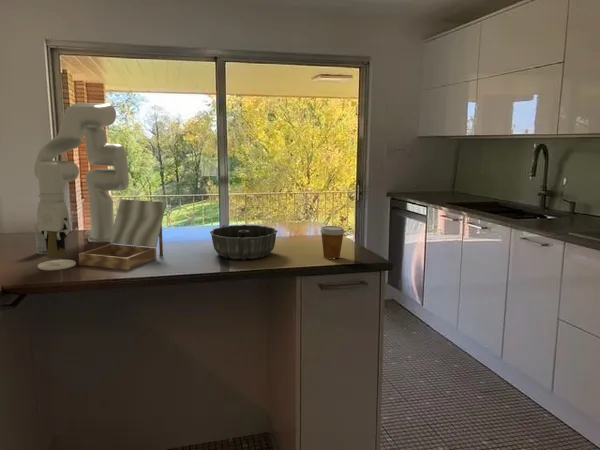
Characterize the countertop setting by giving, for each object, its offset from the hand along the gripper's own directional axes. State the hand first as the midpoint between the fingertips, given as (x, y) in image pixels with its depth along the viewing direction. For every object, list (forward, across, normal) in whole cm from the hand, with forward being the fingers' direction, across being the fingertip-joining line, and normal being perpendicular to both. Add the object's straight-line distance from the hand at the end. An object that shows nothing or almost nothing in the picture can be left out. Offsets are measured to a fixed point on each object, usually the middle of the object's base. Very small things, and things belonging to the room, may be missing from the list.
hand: (55, 249), depth 170 cm
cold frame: (+6, +16, +17) cm, 24 cm away
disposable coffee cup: (+6, +89, +47) cm, 101 cm away
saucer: (+6, 0, 0) cm, 6 cm away
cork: (+3, 0, 0) cm, 3 cm away
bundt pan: (+6, +55, +39) cm, 68 cm away
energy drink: (+6, -19, +14) cm, 24 cm away
